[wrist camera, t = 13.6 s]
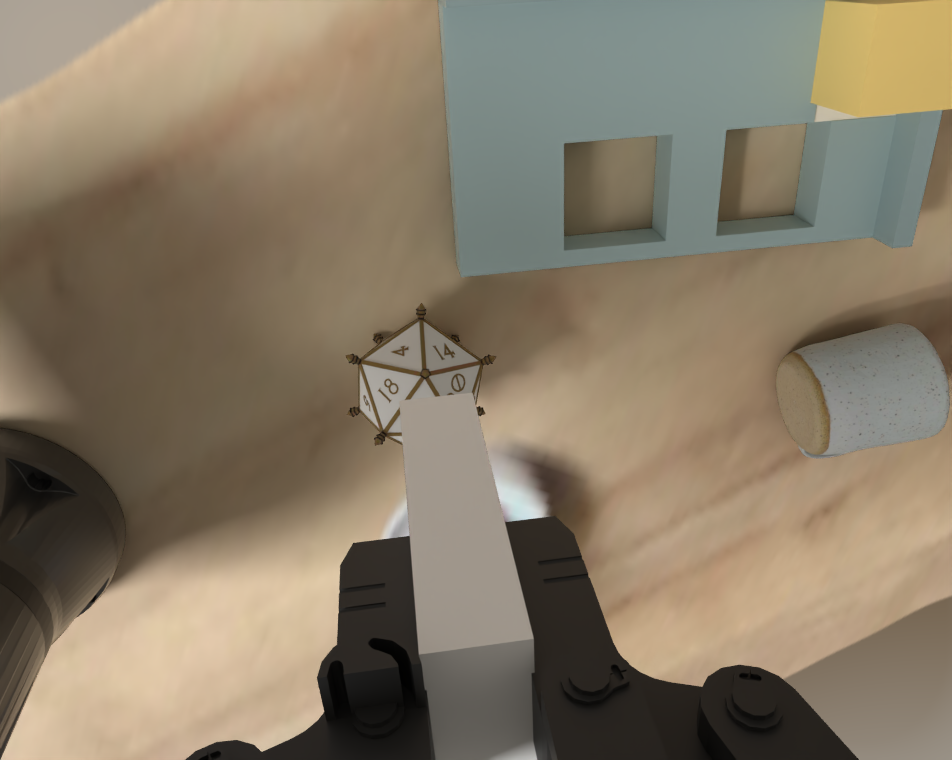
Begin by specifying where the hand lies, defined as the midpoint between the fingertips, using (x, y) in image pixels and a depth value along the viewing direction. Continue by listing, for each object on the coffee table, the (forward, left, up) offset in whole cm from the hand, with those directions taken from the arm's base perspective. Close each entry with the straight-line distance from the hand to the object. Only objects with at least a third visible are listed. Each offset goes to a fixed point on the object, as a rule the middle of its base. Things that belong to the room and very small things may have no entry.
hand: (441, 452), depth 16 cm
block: (+25, +4, -28) cm, 38 cm away
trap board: (+16, 0, -30) cm, 34 cm away
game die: (0, -13, -31) cm, 33 cm away
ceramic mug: (+28, -18, -31) cm, 46 cm away
